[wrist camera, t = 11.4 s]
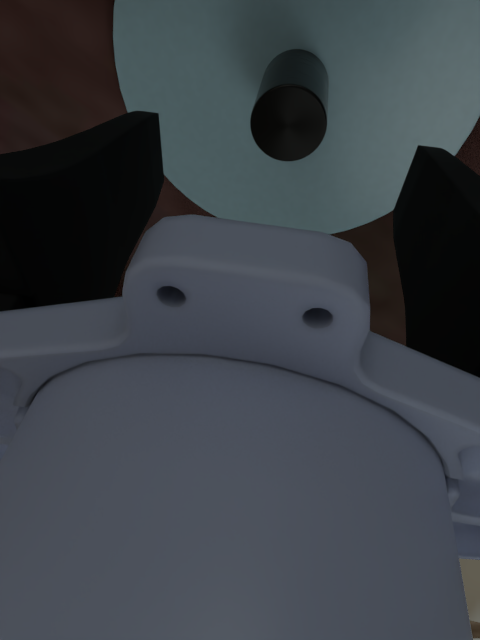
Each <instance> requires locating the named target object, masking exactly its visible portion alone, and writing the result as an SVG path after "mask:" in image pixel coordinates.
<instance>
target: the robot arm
mask: <svg viewBox="0 0 480 640" xmlns="http://www.w3.org/2000/svg"><path fill="white" fill-rule="evenodd" d="M163 182H164V172H163V160H162V148H161V136H160V124H159V113H154V112H146V111H138V110H137V111H132V112H129V113H126V114H124V115H121V116H119V117H116V118H114V119H112V120H109V121H107V122H105V123H102V124H100V125H98V126H95V127H93V128H91V129H88V130H86V131H83V132H81V133H78V134H75V135H73V136H70V137H68V138H65V139H62V140H59V141H56V142H53V143H50V144H47V145H43V146H39V147H35V148H31V149H27V150H23V151H17V152H11V153H6V154H0V640H473V638H472V632H471V626H470V621H469V615H468V609H467V603H466V597H465V592H464V586H463V580H462V574H461V568H460V562H459V558H462V559H475V560H480V176H479V175H478V174H476V173H475V172H474V171H473V170H471V169H470V168H469V167H468V166H466V165H465V164H464V163H463V162H461V161H460V160H459V159H457V158H456V157H455V156H453V155H452V154H451V153H449V152H448V151H446V150H444V149H442V148H438V147H429V146H421V145H418V147H417V149H416V152H415V155H414V157H413V160H412V163H411V165H410V168H409V170H408V173H407V176H406V178H405V181H404V184H403V186H402V189H401V192H400V194H399V197H398V199H397V202H396V205H395V207H394V212H393V233H394V244H395V250H396V256H397V261H398V267H399V272H400V278H401V284H402V289H403V295H404V303H405V316H406V346H404V345H401V344H399V343H397V342H394V341H392V340H390V339H387V338H385V337H383V336H380V335H378V334H376V333H373V332H371V331H369V330H370V301H369V287H368V274H367V262H366V261H365V260H364V259H363V257H362V256H361V255H360V254H359V252H358V251H357V250H356V249H355V247H354V246H353V245H352V244H351V243H350V242H347V241H345V240H342V239H339V238H337V237H334V236H331V235H329V234H326V233H323V232H317V231H310V230H303V229H295V228H288V227H281V226H273V225H266V224H259V223H251V222H244V221H237V220H229V219H222V218H215V217H207V216H200V215H193V214H192V215H182V216H171V217H164V218H162V219H161V220H160V221H159V222H157V223H156V224H155V225H154V226H152V227H151V228H150V229H148V230H147V231H146V232H145V234H144V236H143V238H142V240H141V242H140V244H139V246H138V248H137V250H136V252H135V254H134V256H133V258H132V260H131V262H130V265H129V267H128V269H127V271H126V273H125V279H124V285H123V291H122V295H123V297H114V295H115V292H116V290H117V287H118V284H119V281H120V279H121V276H122V273H123V270H124V268H125V265H126V263H127V261H128V259H129V257H130V255H131V253H132V251H133V249H134V247H135V245H136V243H137V241H138V239H139V237H140V236H141V234H142V232H143V230H144V228H145V226H146V224H147V222H148V220H149V218H150V216H151V214H152V212H153V210H154V208H155V206H156V204H157V201H158V198H159V195H160V192H161V188H162V185H163Z"/></svg>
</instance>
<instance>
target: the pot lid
mask: <svg viewBox="0 0 480 640" xmlns="http://www.w3.org/2000/svg"><path fill="white" fill-rule="evenodd" d="M113 44H114V55H115V65H116V70H117V75H118V80H119V85H120V90H121V93H122V96H123V99H124V103H125V106H126V109H127V112H128V113H129V112H132V111H137V110H138V111H146V112H154V113H159V124H160V136H161V148H162V160H163V172H164V175H165V176H166V177H167V178H168V179H169V180H170V181H171V183H172V184H173V185H174V186H175V187H176V188H177V189H179V190H180V191H181V192H182V193H183V194H184V195H185V196H186V197H188V198H189V199H190V200H191V201H193V202H194V203H195V204H197V205H198V206H200V207H201V208H203V209H204V210H205V211H207V212H209V213H211V214H212V215H214V216H216V217H218V218H222V219H229V220H237V221H244V222H251V223H259V224H266V225H273V226H281V227H288V228H295V229H303V230H310V231H317V232H323V233H326V234H333V233H337V232H342V231H346V230H350V229H352V228H355V227H358V226H361V225H364V224H367V223H369V222H371V221H373V220H375V219H377V218H379V217H382V216H384V215H386V214H388V213H389V212H391V211H392V210H394V207H395V205H396V202H397V199H398V197H399V194H400V192H401V189H402V186H403V184H404V181H405V178H406V176H407V173H408V170H409V168H410V165H411V163H412V160H413V157H414V155H415V152H416V149H417V147H418V145H421V146H429V147H438V148H442V149H444V150H446V151H448V152H449V153H451V154H452V155H453V156H455V155H456V154H457V152H458V151H459V149H460V148H461V146H462V145H463V143H464V142H465V140H466V139H467V137H468V136H469V134H470V133H471V131H472V130H473V128H474V126H475V124H476V122H477V120H478V118H479V116H480V0H115V2H114V12H113Z"/></svg>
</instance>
